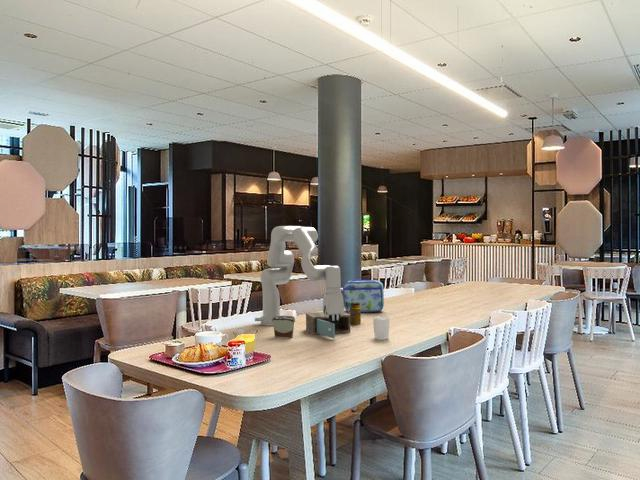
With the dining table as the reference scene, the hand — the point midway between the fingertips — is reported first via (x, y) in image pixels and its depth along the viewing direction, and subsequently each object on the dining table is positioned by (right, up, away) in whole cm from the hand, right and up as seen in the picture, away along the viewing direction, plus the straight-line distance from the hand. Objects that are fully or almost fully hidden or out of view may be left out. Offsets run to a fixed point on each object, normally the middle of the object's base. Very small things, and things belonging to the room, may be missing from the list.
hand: (334, 328), depth 256 cm
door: (-5, -4, +2) cm, 6 cm away
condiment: (+12, -4, +38) cm, 40 cm away
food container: (-24, -5, +6) cm, 26 cm away
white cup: (+23, -5, -2) cm, 23 cm away
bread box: (-3, -5, +18) cm, 19 cm away
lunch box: (+21, -3, +81) cm, 84 cm away
